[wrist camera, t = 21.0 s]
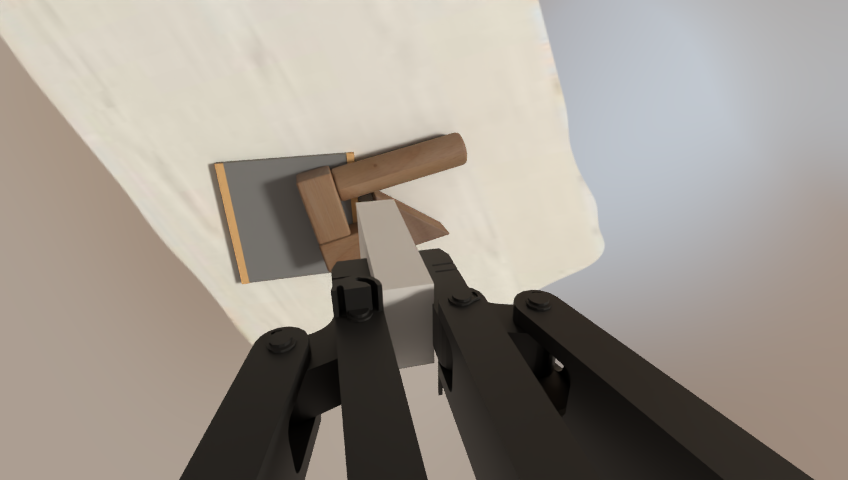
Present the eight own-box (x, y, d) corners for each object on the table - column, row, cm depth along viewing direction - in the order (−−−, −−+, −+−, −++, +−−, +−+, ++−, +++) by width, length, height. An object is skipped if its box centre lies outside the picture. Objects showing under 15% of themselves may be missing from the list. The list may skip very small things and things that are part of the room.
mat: (215, 162, 45) (214, 164, 44) (353, 152, 47) (354, 153, 47) (242, 281, 51) (241, 284, 50) (363, 265, 53) (364, 268, 53)
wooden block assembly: (329, 274, 48) (481, 224, 50) (294, 183, 43) (464, 133, 46) (326, 260, 51) (469, 214, 54) (294, 173, 46) (453, 127, 49)
